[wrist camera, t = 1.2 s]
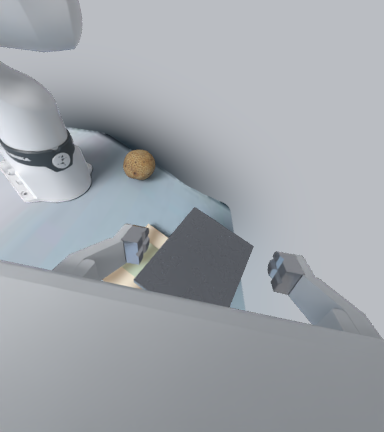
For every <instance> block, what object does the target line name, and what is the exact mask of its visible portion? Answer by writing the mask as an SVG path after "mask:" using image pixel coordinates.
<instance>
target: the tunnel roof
mask: <svg viewBox="0 0 384 432" xmlns="http://www.w3.org/2000/svg"><path fill="white" fill-rule="evenodd" d="M252 249H253V246H252V245H250V244H249V243H248V242H246V241H245V240H243V239H242V238H240V237H239V236H237V235H236V234H234V233H233V232H231V231H230V230H228V229H227V228H225V227H224V226H222V225H221V224H219V223H218V222H216V221H215V220H213V219H212V218H210V217H209V216H207V215H206V214H204V213H203V212H201V211H200V210H198V209H197V208H195V207H194V208H193V210H192V211H191V212H190V213H189V214H188V215H187V217H186V218H185V219H184V220H183V221H182V223H181V224H180V225H179V226H178V227H177V229H176V230H175V231H174V232H173V233H172V234H171V236H170V237H169V238H168V239H167V240H166V242H165V243H164V244H163V245H162V246H161V248H160V249H159V250H158V251H157V252H156V253H155V255H154V256H153V257H152V258H151V259H150V261H149V262H148V263H147V264H146V265H145V267H144V268H143V269H142V270H141V271H140V272H139V274H138V275H137V276H136V277H135V278H134V283H135V284H137V285H138V286H139V287H140V288H142V289H143V290H148V291H153V292H157V293H162V294H167V295H172V296H177V297H181V298H186V299H191V300H196V301H201V302H205V303H210V304H215V305H220V306H225V307H230V304H231V302H232V299H233V297H234V294H235V292H236V289H237V287H238V284H239V282H240V279H241V277H242V274H243V272H244V269H245V267H246V264H247V261H248V259H249V257H250V254H251V252H252Z"/></svg>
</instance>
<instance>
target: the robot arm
mask: <svg viewBox="0 0 384 432" xmlns="http://www.w3.org/2000/svg"><path fill="white" fill-rule="evenodd" d="M81 33H82V15H81V9H80V5H79V1H78V0H0V47H7V48H15V49H23V50H31V51H39V52H52V51H63V50H71V49H75V48H76V46H77V45H78V43H79V40H80V37H81ZM0 144H1V146H2V147H1V148H0V153H1V155H2V156H3V157H4V158H5V159H4V160H3V161H1V162H0V170H1V171H2V172H3V174H4V175H5V177H6V178H7V179H8V181H9V182H10V183H11V185H12V186H13V187H14V189H15V190H16V192H17V193H18V194H19V196H20V197H21V198H22V200H23V201H24V202H27V203H31V202H39V201H46V202H64V201H69V200H72V199H75V198H77V197H79V196H81V195H82V194H84V193H85V192H86V191H87V190H88V188H89V187H90V185H91V176H90V174H91V172H92V166H91V164H89V163H87V162H86V161H85V159H84V156H83V154H82V152H81V150H80V148H79V147H78V146H76V145H74V143H73V139H72V137H71V135H70V133H69V131H68V130H67V129H66V128H65V125H64V123H63V120H62V117H61V115H60V112H59V109H58V107H57V104H56V101H55V99H54V98H53V96H52V94H51V93H50V92H49V91H48V90H47V89H46V88H45V87H44V86H43V85H42V84H40V83H39V82H38V81H36V80H35V79H33V78H32V77H30V76H28V75H26V74H24V73H21V72H19V71H17V70H15V69H13V68H11V67H9V66H7V65H5V64H4V63H2V62H1V61H0ZM148 234H149V228H146V227H142V226H137V225H131V224H124V225H123V227H122V228H121V229H120V230H119V231H118V232H117V233H116V235H115V236H114V237H113V238H109V239H106V240H104V241H101V242H99V243H96V244H94V245H92V246H89V247H87V248H84V249H82V250H79V251H77V252H74V253H72V254H69V255H68V256H67V257H66V258H65V259H64V260H63V261H62V262H61V263H59V264H58V265H57V266H56V267H55V268H54V269H53V270H47V269H42V268H37V267H33V266H28V265H23V264H18V263H13V262H8V261H4V260H0V432H384V340H383V339H382V337H381V336H380V335H379V333H378V332H377V330H376V329H375V328H374V326H373V325H372V323H371V322H370V321H369V319H368V318H367V317H366V315H365V314H364V313H363V312H361V311H360V310H359V309H358V308H356V307H355V306H354V305H352V304H351V303H350V302H349V301H347V300H346V299H344V298H343V297H342V296H341V295H340V294H338V293H337V292H336V291H335V290H333V289H332V288H331V287H329V286H328V285H327V284H326V283H324V282H323V281H322V280H321V279H319V278H316V277H315V275H314V274H313V272H312V270H311V269H310V267H309V265H308V264H307V262H306V260H305V259H304V257H303V256H300V255H295V254H288V253H282V252H275V253H274V255H273V258H274V259H273V260H271V261H270V262H269V264H268V274H269V276H270V277H271V278H272V281H271V284H272V287H273V290H274V292H278V293H282V294H287V295H288V296H289V297H290V298H291V299H292V301H293V302H294V303H295V304H296V305H297V307H298V308H299V309H300V310H301V312H302V313H303V314H304V315H305V316H306V318H307V319H308V320H309V321H310V322H311V324H312V325H311V324H306V323H301V322H296V321H291V320H287V319H282V318H277V317H272V316H268V315H263V314H258V313H253V312H249V311H244V310H239V309H234V308H229V307H225V306H220V305H215V304H210V303H205V302H201V301H196V300H191V299H186V298H181V297H177V296H172V295H167V294H162V293H157V292H153V291H148V290H143V289H138V288H133V287H129V286H124V285H119V284H114V283H109V282H105V281H101V280H102V279H104V278H105V277H107V276H108V275H110V274H111V273H113V272H114V271H116V270H117V269H118V268H120V267H121V266H123V265H124V264H126V263H131V264H137V265H139V264H140V262H141V261H142V259H143V254H144V253H145V252H146V251H147V249H148V247H149V242H150V239H149V237H148Z"/></svg>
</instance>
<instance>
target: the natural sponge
mask: <svg viewBox="0 0 384 432" xmlns="http://www.w3.org/2000/svg"><path fill="white" fill-rule="evenodd" d="M123 168H124V171H125V173H126V175H127V176H128V177H130V178H134V179H139V180H145V179H147V178H148V177H150V176H151V175H152V173H153V172H154V169H155V160H154V158H153V156H152V155H151V154H150V153H149V152H147V151H145V150H133V151H131V152H129V153H128V154H127V155H126V157H125V159H124V164H123Z"/></svg>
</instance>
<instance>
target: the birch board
mask: <svg viewBox="0 0 384 432" xmlns="http://www.w3.org/2000/svg"><path fill="white" fill-rule="evenodd" d="M146 228H149V234H148V237H149V239H150V242H149V247H148V249H147V251H146V252H145V253H144V254H143V259H142V261H141V262H140V264H139V265H137V264H131V263H126V264H124V265H123V266H121V267H120V268H118V269H117V270H116V271H114V272H113V273H111V274H110V275H108V276H107V277H105V278H104V279H102V280H103V281H105V282H109V283H114V284H119V285H124V286H129V287H133V288H138V289H142V288H140V287H139V286H138V285H137V284H135V283H134V278H135V277H136V276H137V275H138V274H139V272H140V271H141V270H142V269H143V268H144V267H145V265H146V264H147V263H148V262H149V261H150V259H151V258H152V257H153V256H154V255H155V253H156V252H157V251H158V250H159V249H160V248H161V246H162V245H163V244H164V243H165V242H166V240H167V239H168V237H166V236H165V235H163V234H162V233H161V232H159V231H158V230H156V229H155V228H154V227H152V226H151V225H149V224H148V225H147V226H146Z"/></svg>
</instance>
